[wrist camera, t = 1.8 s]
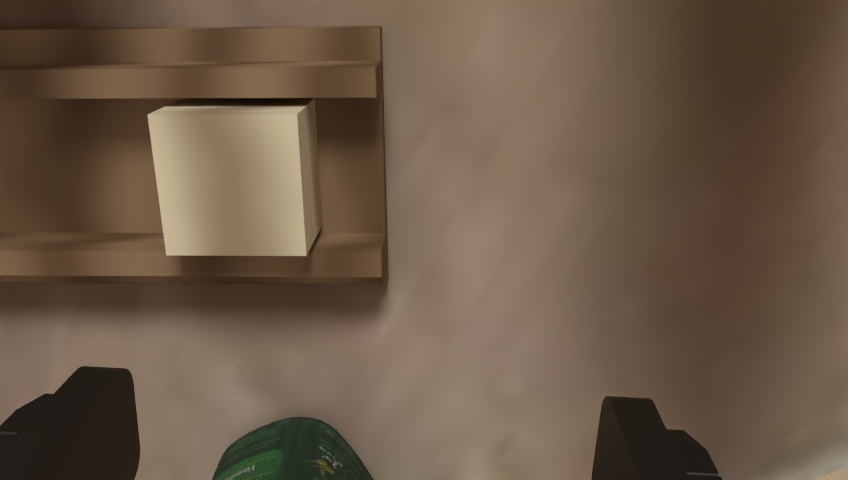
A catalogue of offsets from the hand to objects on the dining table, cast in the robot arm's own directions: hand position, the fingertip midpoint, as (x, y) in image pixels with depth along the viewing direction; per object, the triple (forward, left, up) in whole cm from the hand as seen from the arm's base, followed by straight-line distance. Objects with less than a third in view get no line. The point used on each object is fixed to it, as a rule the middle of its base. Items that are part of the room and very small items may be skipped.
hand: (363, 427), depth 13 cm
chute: (+16, +1, -23) cm, 28 cm away
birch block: (+8, +1, -22) cm, 24 cm away
